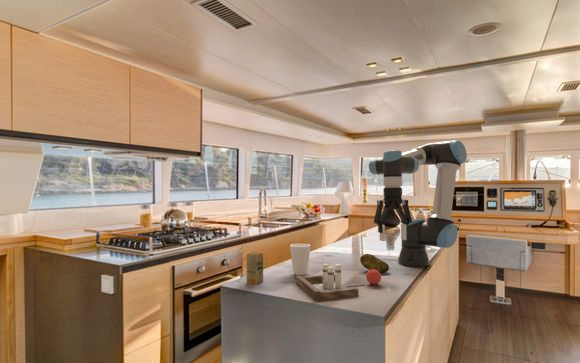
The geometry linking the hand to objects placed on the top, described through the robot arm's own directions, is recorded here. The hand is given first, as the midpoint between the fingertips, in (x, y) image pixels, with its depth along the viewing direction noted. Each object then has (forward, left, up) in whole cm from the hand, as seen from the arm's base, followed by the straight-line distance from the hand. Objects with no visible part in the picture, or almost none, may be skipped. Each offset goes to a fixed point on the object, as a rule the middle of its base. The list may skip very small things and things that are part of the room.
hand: (393, 240), depth 142 cm
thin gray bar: (+18, 0, -18) cm, 25 cm away
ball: (+10, 0, -15) cm, 17 cm away
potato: (-2, -18, -18) cm, 25 cm away
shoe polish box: (+56, -18, -18) cm, 61 cm away
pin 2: (+30, +3, -18) cm, 35 cm away
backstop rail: (+31, 0, -18) cm, 35 cm away
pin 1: (+30, -2, -18) cm, 35 cm away
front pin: (+26, 0, -18) cm, 31 cm away
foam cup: (+33, -26, -18) cm, 45 cm away
